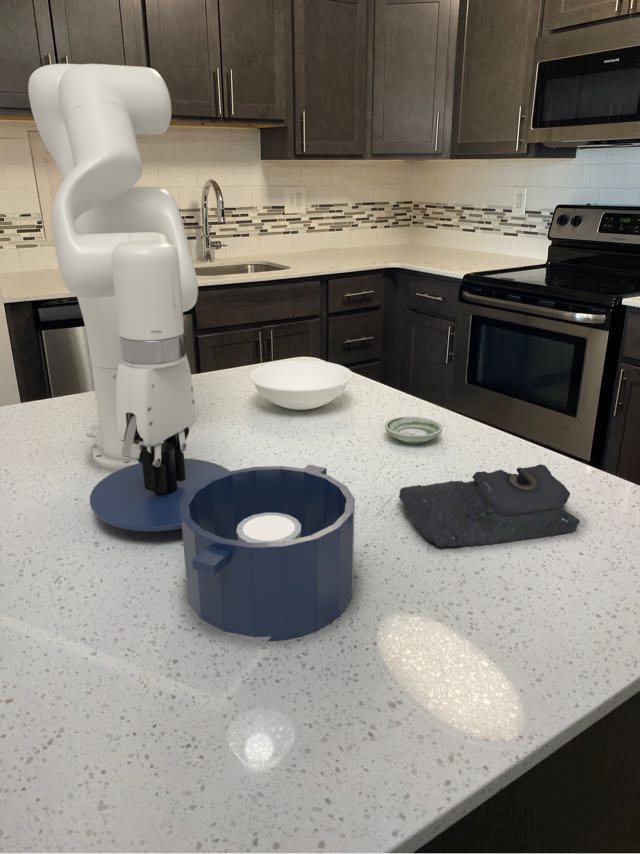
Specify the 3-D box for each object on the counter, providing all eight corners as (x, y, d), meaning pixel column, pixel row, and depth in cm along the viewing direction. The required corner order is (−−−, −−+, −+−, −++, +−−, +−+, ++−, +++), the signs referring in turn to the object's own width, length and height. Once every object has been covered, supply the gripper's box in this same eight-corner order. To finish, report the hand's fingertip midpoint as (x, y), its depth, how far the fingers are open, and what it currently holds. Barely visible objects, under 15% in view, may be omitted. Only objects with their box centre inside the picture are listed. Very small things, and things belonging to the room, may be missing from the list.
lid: (57, 513, 83) (49, 461, 80) (155, 455, 99) (151, 410, 96) (181, 551, 75) (176, 495, 73) (265, 482, 91) (264, 434, 88)
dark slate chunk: (386, 497, 92) (387, 466, 91) (527, 479, 97) (530, 449, 96) (430, 554, 78) (432, 518, 77) (592, 530, 84) (597, 496, 82)
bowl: (305, 383, 142) (305, 354, 139) (373, 406, 128) (374, 374, 126) (229, 404, 129) (228, 373, 127) (295, 431, 116) (295, 397, 113)
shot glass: (294, 606, 68) (292, 547, 66) (230, 598, 70) (227, 540, 67) (308, 569, 75) (307, 514, 72) (250, 562, 76) (247, 508, 74)
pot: (135, 625, 66) (124, 534, 63) (256, 522, 86) (253, 447, 82) (292, 681, 59) (290, 581, 55) (385, 555, 78) (388, 474, 75)
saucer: (448, 434, 114) (449, 420, 114) (430, 453, 106) (431, 439, 106) (396, 424, 119) (397, 412, 118) (375, 443, 111) (375, 429, 110)
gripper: (170, 329, 88) (180, 455, 95) (79, 361, 74) (98, 505, 81) (218, 336, 85) (224, 466, 92) (131, 371, 71) (147, 520, 78)
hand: (165, 483), depth 86 cm, fingers closed on lid, 3 cm apart
